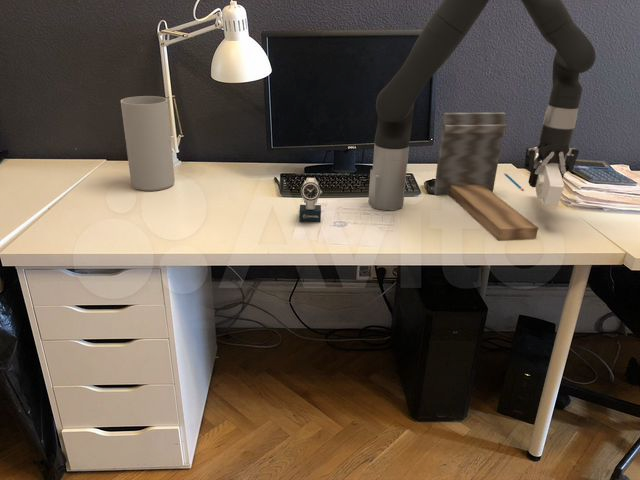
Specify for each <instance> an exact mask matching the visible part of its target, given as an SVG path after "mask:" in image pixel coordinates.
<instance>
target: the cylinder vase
mask: <svg viewBox="0 0 640 480" xmlns="http://www.w3.org/2000/svg"><path fill="white" fill-rule="evenodd" d="M120 106H121V116H122V122H123V123H122V124H123V130H124V137H125V145H126V146H125V147H126V154H127V160H128V170H129V176H130V184H131V186H132V188H133V189H135V190H139V191H142V192H143V191H144V192H153V191H154V192H155V191H163V190H165V189H166V190H167V189H168V188H171V187H172V186H173V185H174V184H175V182H176V181H175V179H176V178H175V169H174V159H173V149H172V137H171V127H170V125H171V124H170V116H169V105H168V98H167V97H163V96H155V95H143V96H142V95H141V96H140V95H139V96H131V97H130V96H129V97H124V98H122V99H120Z"/></svg>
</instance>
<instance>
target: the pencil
mask: <svg viewBox="0 0 640 480" xmlns="http://www.w3.org/2000/svg"><path fill="white" fill-rule="evenodd" d="M503 174H504V176H505V177H506V178H507V179H508V180H510V182H512V184H514V185H515V186H516V187H517V188H518V189H519V190H520V191H522V192H523V191H524V192H525V189H524V188H523V187H522V186H521V185H519V183H517V182H516V181H515V180H514V179H513V178H512V177H511V176H510V175H508V174H507V173H506V172H505V173H503Z"/></svg>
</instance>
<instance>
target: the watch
mask: <svg viewBox="0 0 640 480" xmlns="http://www.w3.org/2000/svg"><path fill="white" fill-rule="evenodd" d="M318 183H319V182H318V180H316V177H306V180H304V182H303V184H302V186H301V189H300V193H301V194H300V195H301V197H302V199H303V203H304V204H299V211H298V213H299V216H298V218H299V223H321V222H322V221H321V220H322V217H321V216H322V205H321V204H317V202H318V200H319V198H320V195H321V194H323V191H322V190H321V188H320V186H319V184H318Z"/></svg>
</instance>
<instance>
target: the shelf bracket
mask: <svg viewBox="0 0 640 480" xmlns="http://www.w3.org/2000/svg"><path fill="white" fill-rule="evenodd" d="M537 147H538V146H535V147H534V148H537ZM537 156H538V153H537V154H536V156H535V159H536V158H537ZM535 159H534V161H535ZM540 162H542V161H540ZM564 189H565V183H564V179H563V180H562V176H561V173H560V170H559V167H558V164H557V163H550V164H546V165H545V167H543V168H542V169H541V170H540V172H539V173H538V179H537V183H536V187H535V193H536V197H537V199H539V200H542V204H543V206H547V207H558V206H559V204H560V201H561V198H562V195H563V191H564Z"/></svg>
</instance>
